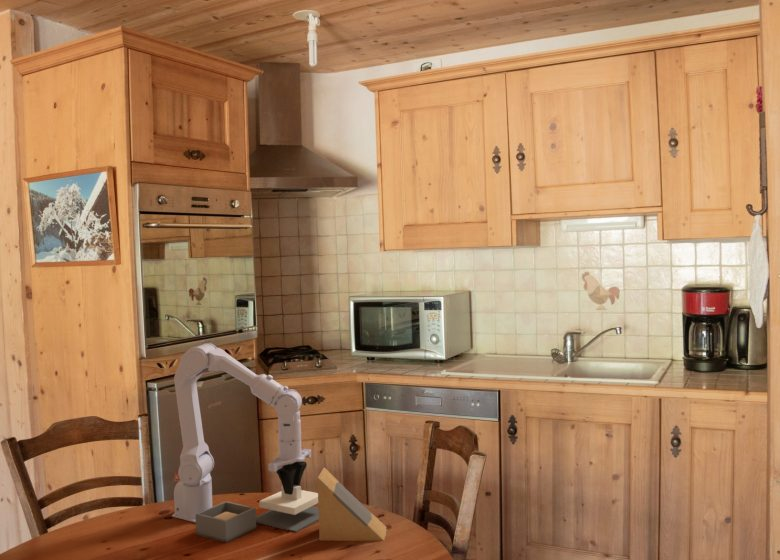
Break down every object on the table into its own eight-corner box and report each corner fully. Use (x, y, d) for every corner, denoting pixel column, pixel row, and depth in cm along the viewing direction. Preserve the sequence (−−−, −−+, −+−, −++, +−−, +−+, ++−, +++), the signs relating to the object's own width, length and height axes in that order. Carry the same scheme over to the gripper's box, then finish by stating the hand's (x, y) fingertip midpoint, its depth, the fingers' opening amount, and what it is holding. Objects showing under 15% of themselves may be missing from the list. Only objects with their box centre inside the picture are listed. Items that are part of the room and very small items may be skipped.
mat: (249, 521, 176) (249, 519, 176) (288, 502, 189) (288, 501, 189) (296, 532, 168) (296, 530, 168) (333, 512, 181) (333, 510, 181)
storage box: (196, 534, 168) (195, 514, 168) (226, 520, 177) (225, 501, 177) (226, 542, 163) (225, 521, 163) (256, 528, 171) (255, 507, 171)
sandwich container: (385, 541, 162) (383, 477, 161) (319, 541, 163) (317, 477, 162) (387, 527, 170) (386, 465, 170) (325, 527, 171) (323, 466, 171)
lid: (259, 507, 176) (258, 489, 176) (289, 493, 186) (288, 476, 186) (294, 514, 170) (294, 496, 170) (323, 500, 180) (322, 482, 180)
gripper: (283, 448, 169) (285, 503, 170) (320, 434, 182) (321, 486, 182) (261, 444, 173) (263, 499, 174) (298, 431, 185) (300, 482, 186)
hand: (291, 492), depth 178 cm, fingers closed on lid, 2 cm apart
